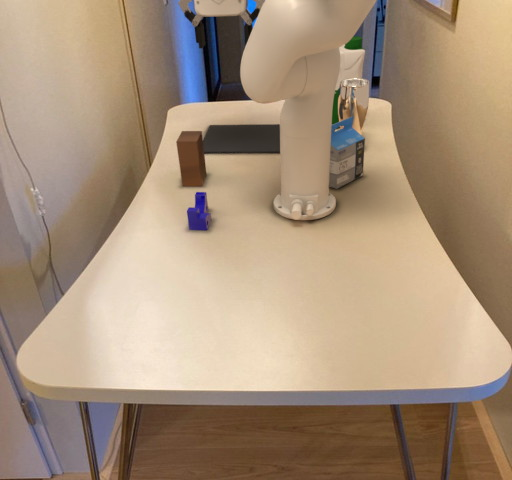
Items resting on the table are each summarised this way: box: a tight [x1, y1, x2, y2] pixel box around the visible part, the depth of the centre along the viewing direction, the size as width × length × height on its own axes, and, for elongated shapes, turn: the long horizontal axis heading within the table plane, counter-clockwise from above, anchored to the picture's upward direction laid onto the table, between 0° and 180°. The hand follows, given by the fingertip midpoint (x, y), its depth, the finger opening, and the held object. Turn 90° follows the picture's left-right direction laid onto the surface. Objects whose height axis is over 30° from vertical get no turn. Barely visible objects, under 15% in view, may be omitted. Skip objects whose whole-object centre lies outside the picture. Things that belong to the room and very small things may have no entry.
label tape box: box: [329, 116, 366, 190], centre depth 116 cm, size 9×4×12 cm, turn 132°
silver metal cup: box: [338, 77, 370, 137], centre depth 128 cm, size 7×7×15 cm
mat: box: [203, 123, 280, 155], centre depth 140 cm, size 18×22×1 cm
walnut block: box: [175, 130, 207, 187], centre depth 120 cm, size 6×4×10 cm
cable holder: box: [186, 191, 212, 231], centre depth 108 cm, size 8×4×4 cm, turn 171°
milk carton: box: [332, 35, 366, 129], centre depth 139 cm, size 9×9×20 cm
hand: (225, 46), depth 114 cm, fingers open, 9 cm apart
